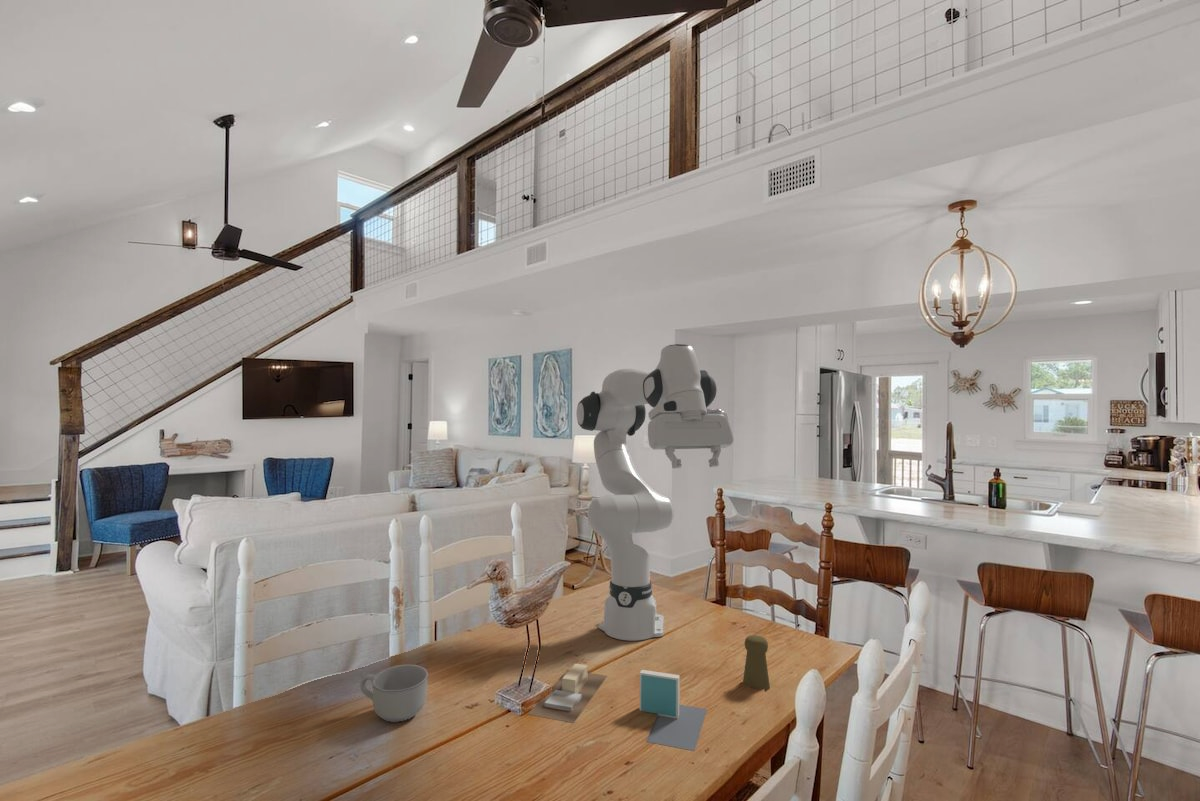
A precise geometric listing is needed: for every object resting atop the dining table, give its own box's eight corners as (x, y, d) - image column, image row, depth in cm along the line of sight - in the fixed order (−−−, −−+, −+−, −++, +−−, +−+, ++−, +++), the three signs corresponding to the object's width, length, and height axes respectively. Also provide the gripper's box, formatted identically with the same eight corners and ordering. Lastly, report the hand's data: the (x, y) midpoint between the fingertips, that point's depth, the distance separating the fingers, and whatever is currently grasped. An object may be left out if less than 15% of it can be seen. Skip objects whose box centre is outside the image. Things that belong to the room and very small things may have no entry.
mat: (623, 698, 128) (623, 695, 128) (706, 712, 122) (706, 709, 122) (600, 736, 112) (600, 733, 112) (694, 754, 107) (694, 750, 107)
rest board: (567, 673, 139) (567, 669, 139) (607, 680, 136) (607, 675, 136) (527, 719, 118) (527, 714, 118) (573, 728, 115) (573, 722, 115)
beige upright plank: (569, 677, 135) (569, 662, 135) (593, 681, 133) (593, 666, 133) (544, 706, 122) (544, 689, 122) (571, 711, 120) (571, 694, 120)
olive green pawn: (770, 692, 131) (771, 643, 131) (743, 690, 132) (743, 640, 132) (768, 680, 137) (768, 633, 137) (742, 678, 138) (742, 631, 138)
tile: (641, 708, 122) (641, 669, 122) (679, 714, 120) (679, 675, 120) (639, 712, 120) (639, 673, 121) (677, 719, 118) (678, 678, 118)
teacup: (437, 707, 123) (438, 668, 123) (404, 733, 113) (405, 691, 113) (383, 696, 128) (383, 659, 128) (346, 720, 117) (347, 680, 118)
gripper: (719, 413, 142) (728, 469, 138) (641, 413, 135) (649, 471, 131) (732, 404, 136) (743, 462, 132) (652, 404, 130) (661, 465, 125)
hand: (695, 467), depth 131 cm, fingers open, 8 cm apart
